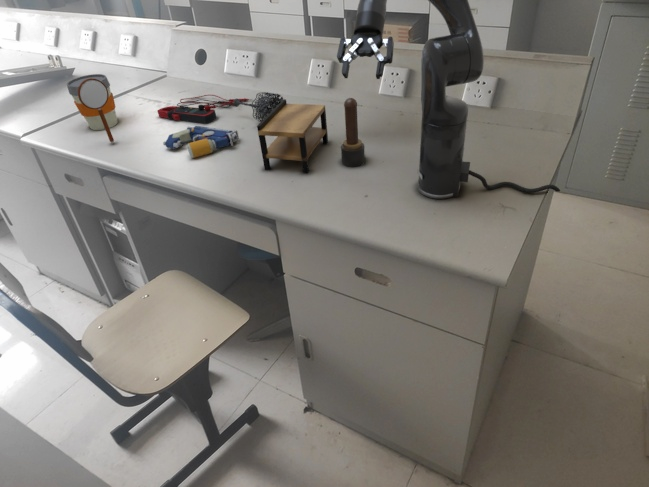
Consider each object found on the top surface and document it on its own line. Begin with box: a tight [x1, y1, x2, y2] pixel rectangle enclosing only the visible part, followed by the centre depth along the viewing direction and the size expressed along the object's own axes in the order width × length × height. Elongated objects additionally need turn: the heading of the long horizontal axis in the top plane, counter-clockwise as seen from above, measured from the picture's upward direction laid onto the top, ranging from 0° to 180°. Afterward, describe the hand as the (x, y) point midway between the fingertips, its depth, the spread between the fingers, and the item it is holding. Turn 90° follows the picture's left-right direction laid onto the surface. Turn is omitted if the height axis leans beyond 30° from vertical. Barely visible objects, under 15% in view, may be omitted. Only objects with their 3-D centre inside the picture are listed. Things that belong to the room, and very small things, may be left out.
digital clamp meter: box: [157, 94, 253, 125], centre depth 157 cm, size 23×4×25 cm
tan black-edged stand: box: [256, 98, 329, 174], centre depth 121 cm, size 12×18×12 cm, turn 162°
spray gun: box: [162, 125, 240, 159], centre depth 133 cm, size 21×4×15 cm
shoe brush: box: [340, 97, 366, 168], centre depth 114 cm, size 6×6×17 cm
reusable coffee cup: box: [66, 73, 118, 131], centre depth 150 cm, size 12×13×15 cm
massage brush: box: [233, 91, 288, 123], centre depth 143 cm, size 9×22×9 cm, turn 56°
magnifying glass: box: [78, 78, 115, 145], centre depth 135 cm, size 9×2×20 cm, turn 139°
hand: (361, 77), depth 117 cm, fingers open, 8 cm apart
